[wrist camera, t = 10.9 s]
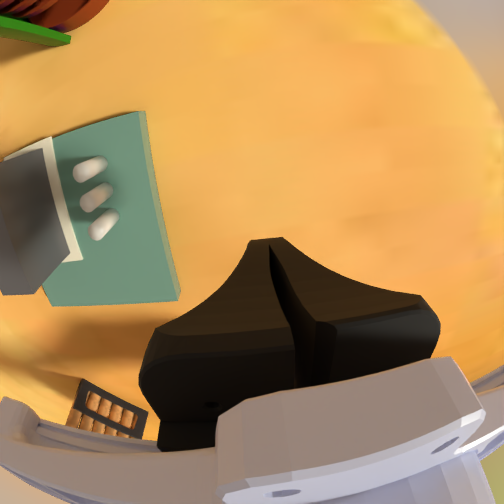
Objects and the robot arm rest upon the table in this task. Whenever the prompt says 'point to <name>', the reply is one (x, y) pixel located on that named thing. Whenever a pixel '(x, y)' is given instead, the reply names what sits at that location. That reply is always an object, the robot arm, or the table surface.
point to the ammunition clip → (105, 413)
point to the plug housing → (28, 225)
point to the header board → (108, 216)
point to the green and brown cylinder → (45, 19)
